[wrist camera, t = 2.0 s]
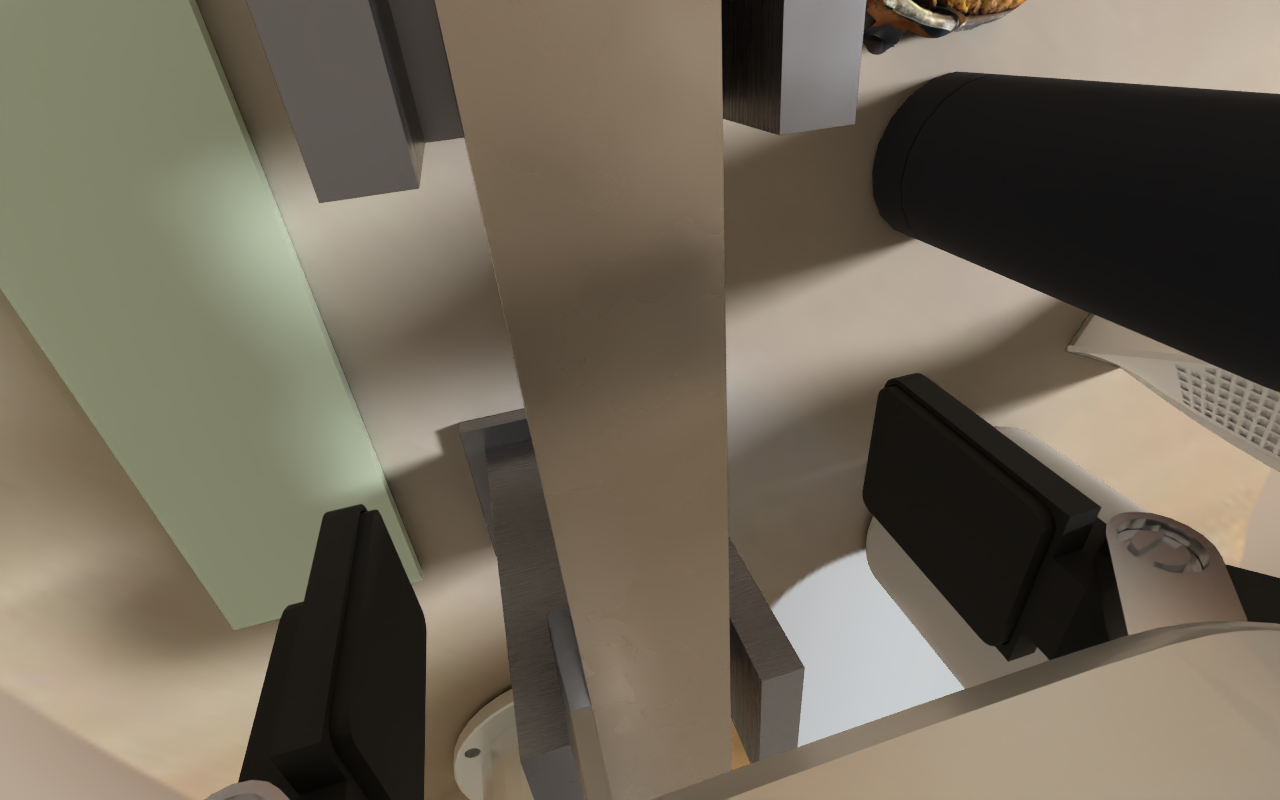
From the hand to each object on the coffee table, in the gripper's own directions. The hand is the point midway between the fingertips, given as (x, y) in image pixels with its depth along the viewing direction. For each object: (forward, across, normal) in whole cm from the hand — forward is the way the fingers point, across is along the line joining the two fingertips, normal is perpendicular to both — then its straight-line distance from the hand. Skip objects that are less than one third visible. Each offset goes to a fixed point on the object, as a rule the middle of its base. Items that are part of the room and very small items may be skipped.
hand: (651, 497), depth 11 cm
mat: (+14, +12, +1) cm, 19 cm away
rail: (+4, 0, +1) cm, 4 cm away
